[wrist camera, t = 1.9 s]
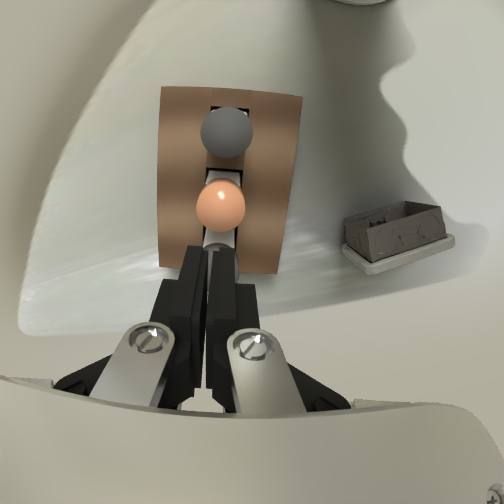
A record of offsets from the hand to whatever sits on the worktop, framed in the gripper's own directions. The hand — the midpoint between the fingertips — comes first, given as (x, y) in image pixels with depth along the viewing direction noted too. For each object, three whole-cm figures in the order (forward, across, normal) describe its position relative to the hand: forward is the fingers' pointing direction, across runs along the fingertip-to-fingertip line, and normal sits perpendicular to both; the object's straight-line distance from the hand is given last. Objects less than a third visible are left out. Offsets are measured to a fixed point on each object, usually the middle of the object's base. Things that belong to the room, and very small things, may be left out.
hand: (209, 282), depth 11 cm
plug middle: (+15, 0, +1) cm, 15 cm away
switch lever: (+15, 0, -4) cm, 16 cm away
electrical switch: (+19, -16, +4) cm, 25 cm away
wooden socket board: (+19, 0, 0) cm, 19 cm away
